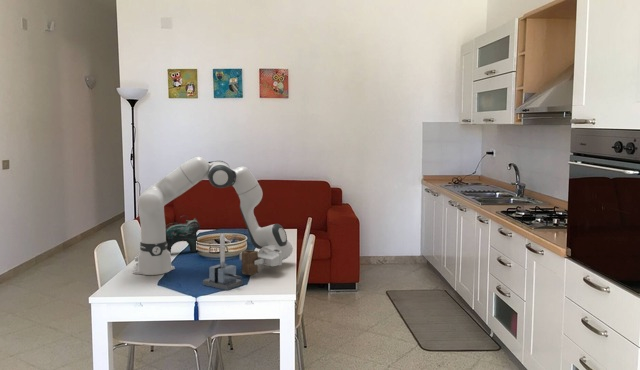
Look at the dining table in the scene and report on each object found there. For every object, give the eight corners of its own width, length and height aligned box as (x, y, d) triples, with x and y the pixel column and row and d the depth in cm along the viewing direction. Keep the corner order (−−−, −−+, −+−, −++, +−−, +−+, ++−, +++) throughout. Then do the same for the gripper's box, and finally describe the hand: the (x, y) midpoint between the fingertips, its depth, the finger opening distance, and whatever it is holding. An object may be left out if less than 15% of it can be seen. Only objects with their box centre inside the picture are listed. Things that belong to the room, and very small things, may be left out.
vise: (202, 284, 243) (202, 234, 241) (219, 279, 252) (218, 230, 249) (232, 291, 234) (231, 239, 231) (248, 285, 242) (247, 235, 240)
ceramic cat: (197, 249, 306) (197, 213, 304) (201, 252, 301) (201, 215, 298) (161, 254, 295) (160, 216, 293) (164, 257, 290) (164, 218, 288)
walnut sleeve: (242, 273, 256) (241, 251, 255) (249, 271, 260) (249, 249, 259) (250, 275, 253) (250, 253, 252) (257, 272, 257) (257, 251, 256)
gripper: (250, 246, 272) (231, 251, 260) (284, 252, 261) (265, 258, 249) (250, 258, 273) (231, 265, 261) (284, 265, 261) (266, 272, 250)
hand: (248, 261), depth 255 cm, fingers closed on walnut sleeve, 5 cm apart
